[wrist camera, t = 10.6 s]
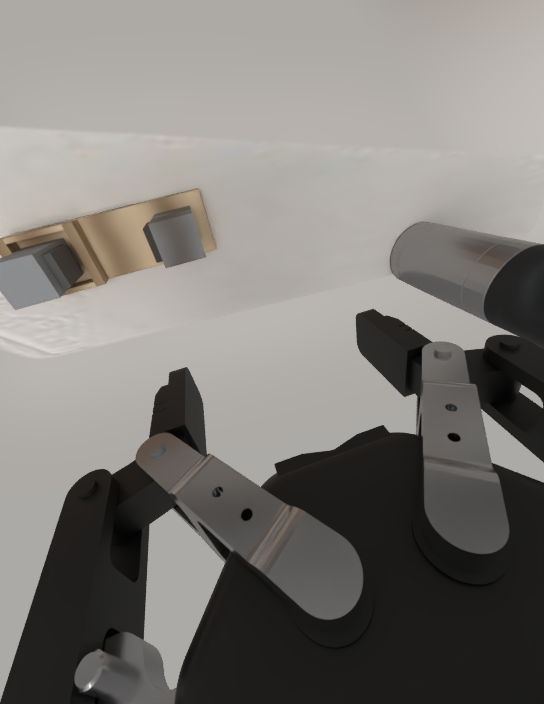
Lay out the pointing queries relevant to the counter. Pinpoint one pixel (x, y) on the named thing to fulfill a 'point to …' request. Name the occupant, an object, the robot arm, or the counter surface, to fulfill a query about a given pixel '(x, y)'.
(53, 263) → the block
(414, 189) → the counter surface
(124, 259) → the rail
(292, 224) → the counter surface
